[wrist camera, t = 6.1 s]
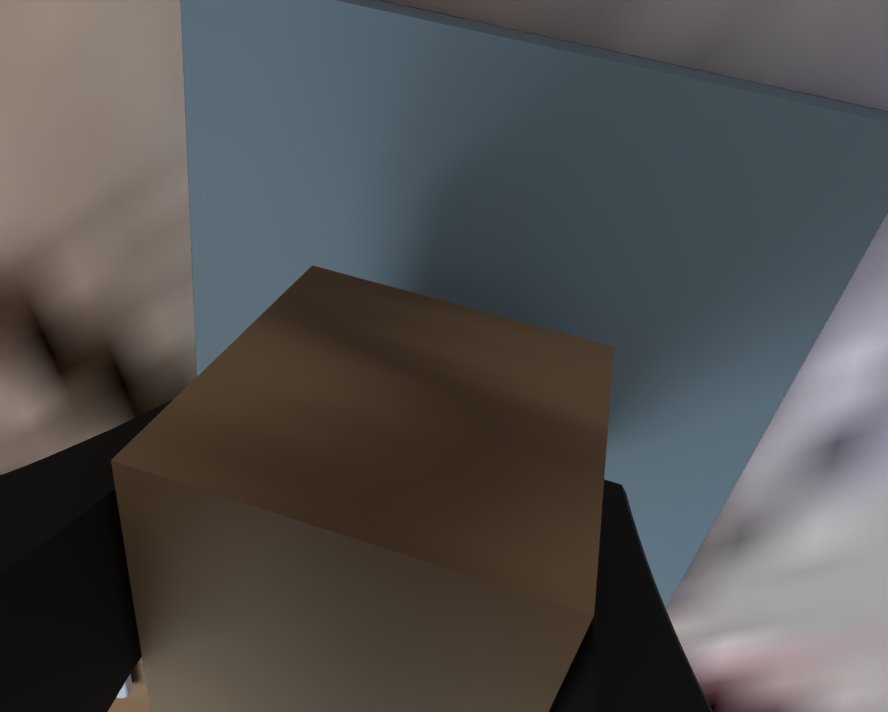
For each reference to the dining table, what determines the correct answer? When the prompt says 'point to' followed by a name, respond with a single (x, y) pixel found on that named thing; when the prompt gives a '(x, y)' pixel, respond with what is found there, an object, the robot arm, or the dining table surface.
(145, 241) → the dining table surface
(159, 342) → the dining table surface
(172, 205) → the dining table surface
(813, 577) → the dining table surface
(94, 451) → the robot arm
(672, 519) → the slate board
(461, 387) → the walnut cube
